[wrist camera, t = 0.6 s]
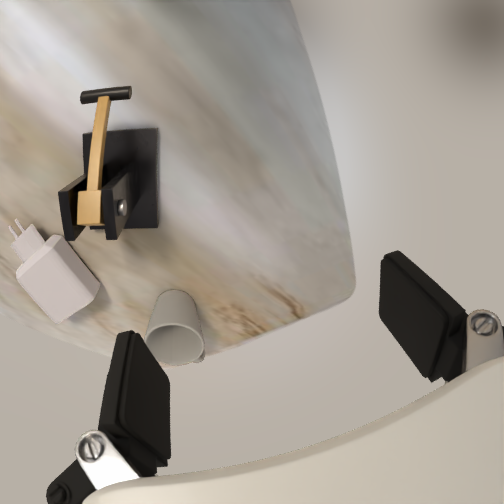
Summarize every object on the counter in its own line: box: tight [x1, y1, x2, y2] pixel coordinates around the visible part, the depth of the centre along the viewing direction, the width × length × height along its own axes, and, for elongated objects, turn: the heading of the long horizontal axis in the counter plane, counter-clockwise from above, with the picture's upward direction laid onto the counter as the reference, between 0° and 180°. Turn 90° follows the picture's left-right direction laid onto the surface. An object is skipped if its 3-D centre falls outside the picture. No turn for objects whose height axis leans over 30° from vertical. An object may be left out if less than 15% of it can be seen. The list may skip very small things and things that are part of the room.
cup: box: [144, 290, 205, 366], centre depth 39 cm, size 8×10×8 cm
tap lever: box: [77, 86, 132, 226], centre depth 22 cm, size 13×5×2 cm, turn 176°
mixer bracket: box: [58, 128, 159, 241], centre depth 27 cm, size 12×9×13 cm
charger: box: [8, 219, 100, 324], centre depth 33 cm, size 5×9×15 cm
